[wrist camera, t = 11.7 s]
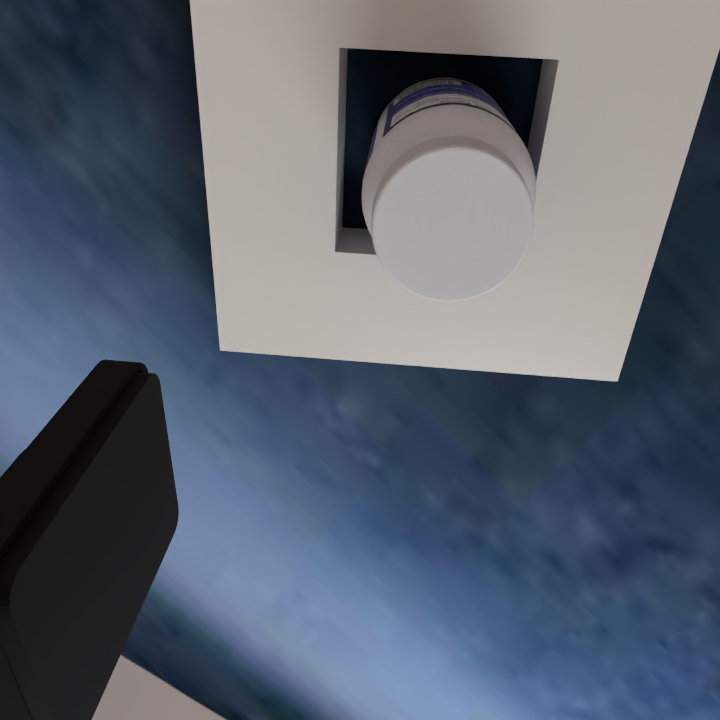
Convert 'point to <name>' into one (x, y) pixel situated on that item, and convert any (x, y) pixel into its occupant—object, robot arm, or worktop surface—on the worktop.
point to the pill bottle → (448, 191)
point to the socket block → (545, 146)
